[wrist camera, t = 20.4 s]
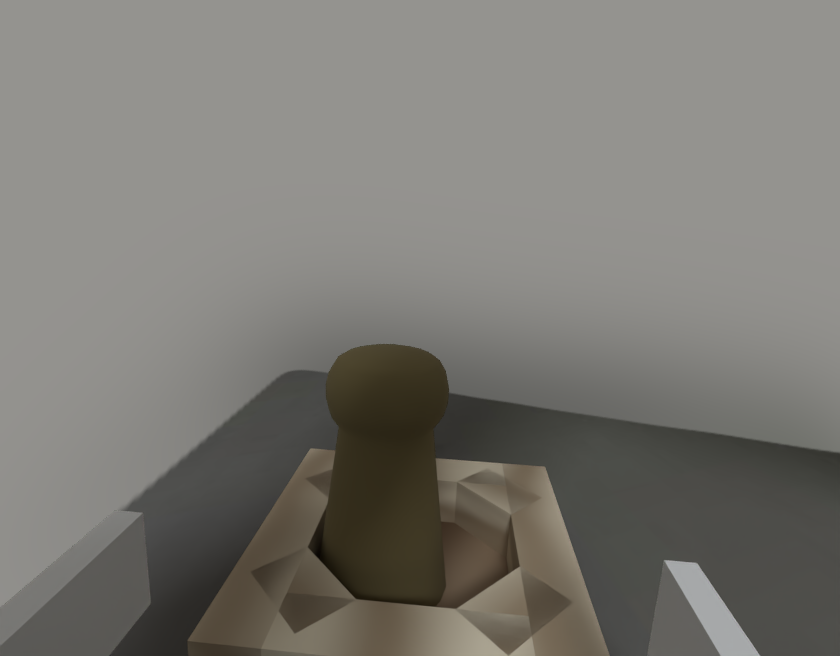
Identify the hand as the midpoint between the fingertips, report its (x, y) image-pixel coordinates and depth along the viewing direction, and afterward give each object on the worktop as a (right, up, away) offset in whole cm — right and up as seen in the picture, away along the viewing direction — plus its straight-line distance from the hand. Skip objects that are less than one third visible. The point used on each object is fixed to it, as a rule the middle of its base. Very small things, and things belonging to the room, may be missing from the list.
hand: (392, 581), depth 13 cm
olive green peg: (-1, -5, +11) cm, 12 cm away
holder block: (0, -6, +11) cm, 12 cm away
